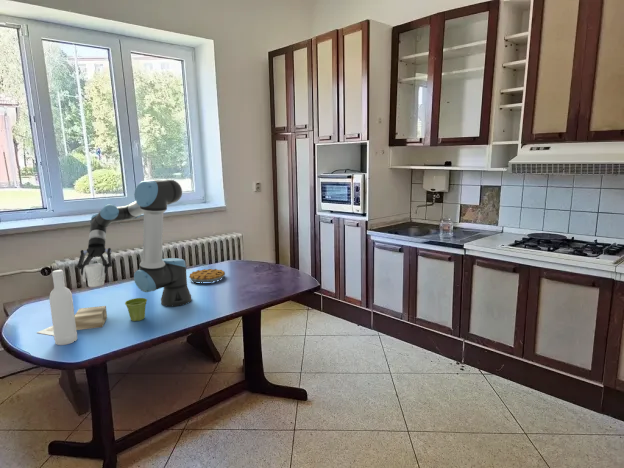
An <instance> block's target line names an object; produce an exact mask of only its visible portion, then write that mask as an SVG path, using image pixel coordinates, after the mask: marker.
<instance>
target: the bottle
mask: <svg viewBox="0 0 624 468" xmlns="http://www.w3.org/2000/svg"><path fill="white" fill-rule="evenodd" d="M51 277H52V281H53V289H52V290H51V292H50V293H49V297H48V298H49V306H50V315H51V320H52V326H53V330H54V342H55V345H58V346H65V345H70V344H73V343H74V341H75V342H76V341H77V340H78V332H77V331H78V330H76V323H75V308H74V301H73V293H72V292H71V289H70V288H68V287H66V286H65V285H66V284H65V278H64V271H63V270H62V269H56V270H53V271H51Z"/></svg>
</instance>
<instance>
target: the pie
mask: <svg viewBox="0 0 624 468" xmlns="http://www.w3.org/2000/svg"><path fill="white" fill-rule="evenodd" d="M225 275H226V272H225V271H224V270H223V269H217V268H214V269H212V268H209V269H206V268H205V269H198V270H196V271H192V272H191V273H189V276H188V278H189V279H190V280H191V282H192V281H193V282H200V283H201V282H202V283H203V282H213V281H217V280H220V279H221V278H224V276H225ZM193 282H192V283H193Z"/></svg>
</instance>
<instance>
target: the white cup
mask: <svg viewBox="0 0 624 468" xmlns="http://www.w3.org/2000/svg"><path fill="white" fill-rule="evenodd" d="M103 266H104V263H103V262H101V263H99V262H97V263H95V262H94V263H89V264H88V265H86V266H85V272H86V281H87V286H88V287H89V288H95V287H101V286H103V285H104V284H105V280H103V279H102V270H103Z"/></svg>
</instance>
